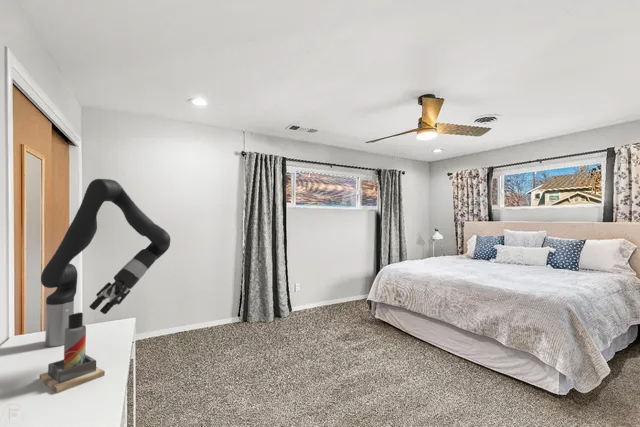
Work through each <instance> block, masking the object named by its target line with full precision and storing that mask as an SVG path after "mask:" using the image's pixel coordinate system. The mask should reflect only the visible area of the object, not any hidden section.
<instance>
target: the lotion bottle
mask: <svg viewBox="0 0 640 427" xmlns="http://www.w3.org/2000/svg"><path fill="white" fill-rule="evenodd" d="M83 316H84V314H83V312H76V313H75V312H74V314H72V315H69V316H68V328H66V329H65V335H64V345H63V346H64V348H63V360H64V370H65V369H68V368H72V367H75V366H78V365H81V364H84V363H85V355H86V347H87V346H86V342H87V339H86V338H87V326H86V325H83V324H84V322H83V321H84V319H83V318H84V317H83Z"/></svg>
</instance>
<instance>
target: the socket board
mask: <svg viewBox="0 0 640 427" xmlns="http://www.w3.org/2000/svg"><path fill="white" fill-rule="evenodd" d="M47 367H48V368H47V371H46V372H43V373H40V374H39V378H38V379H39V380H40V381H41V382H42V381H43V382H42V383H44V384H45V385H46V386H48V387H49V388H50V389H52V390H53V391H54V392H55V393H56V394H59V393H62V392H64V391H66V390H70V389H72V388H74V387H77V386H81V385H83V384H85V383H89V382H91V381H94V380H96V379H100V378H102V377H104V376H105V370H103V369H102V368H100V367H98V366H97V359H94V358H93V357H90V356H89V355H88V354H85V363H84V364H81V365H78V366H75V367H72V368H68V369H65V370H64V359H61V360H57V361H55V362H51V363H49V364H48V365H47Z"/></svg>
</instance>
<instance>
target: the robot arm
mask: <svg viewBox="0 0 640 427" xmlns="http://www.w3.org/2000/svg"><path fill="white" fill-rule="evenodd" d="M105 202H111V203H113V204H114V205H115V206H117V207H118V208H119V209H120V210H121V212H122V213H123V215H124V218H125V221H126V222H127V224H128V225H129V226H130V227H131V228H132V229H134V231H135V232H137V233H138V234H139V235H140V236H142V237H145V238H147V239H148V240H149V241H150V244H148V246H146V248H143V249H141V250H139V252H137V253H136V255H134V256H133V258H131V259H130V260H129V261H128V262H127V263H126V264H125V265H124V266H123V267H122V268H121V269H120V270H119V271H117V273H116V274H115V275H114V277H113V280H114V282H112V283H111V282H110V281H109V282H107V283H106V284H105V285H104V286H103V287H102V288H101V289H100V290H99V291H98V292H97V293H96V294H95V295H96V299H95V300H94V301H93V302H92V303H91V304H90V305H89V309H91V310H94V311H95V310H96V309H97V308H99V306H100V305H101V304H102V303H103V302H104V301H105V300H107V299H109V300H108V301H107V302H105V305H103V307H101V309H100V311H99V312H100V313H102V315H103V314H104V315H106V314H107V313H108V312H109V311H110V310H111V309H112V308H113V307H114V306H116V305H118V306H119V305H120V304H121V303H122V302H123V300H125V298H127V296H128V295H129V294H130V293H131V289H133V287H135V285H136V284H137V283H138V282H139V281H140V280H141V278H143V276H144V275H145V274H146V272H148V270H149V269H150V268H151V266H153V264H154V263H155V262H156V261H158V259H159V258H161V257H162V256H163V255H164V254H165V253H166V252H167V251H168V250H169V248H170V247H171V235H170V234H169V233H168V232H167V231H166V230H165V229H164V228H162V227H161V226H160V225H158V224H156V223H155V222H154V221H153V220H152V219H151V218H149V216H148V215H146V214H145V213H144V212H143V211H142V210H141V209H140V208H139V206H138V205H137V204H135V202H134V201H133V199H131V197H130V195H128V193H127V192H126V191H125V189H124V188H123V187H122V185H121V184H120V183H119V182H118V181H116V180H115V179H114V180H113V179H110V178H109V179H107V178H97V179H93V180H92V181H91V182H90V183H89V185H88V187H86V190H85V193H84V196H83V198H82V201H81V203H80V206H79V208H78V210H77V211H76V214H75V215H74V218H73V220H72V221H71V223H70V224H69V226H68V229H67V231H66V232H65V235H64V236H63V239H62V240H61V242H60V244H59V246H58V248H57V249H56V251H55V253H54V254H53V255H52V257H51V258H50V260H49V261H48V263H47V264H46V265H45V267H44V269H43V270H42V272H41V276H40V282H41V284H42V286H43V287H45V288H46V289H47V288H48V289H54V288H56V289H55V290H54V291H53V292H52V293H50V294H48V296H47V297H46V299H45V337H44V338H45V340H44V341H45V342H44V346H46V347H60V346H64V335H65V329H66V328H68V316H69V315H72V314H75V306H74V305H75V296H76V295H77V290H78V289H77V287H78V270H77V268H76V266H75V265H74V264H72V263H71V261H72V260H73V259H75V258H76V257H77V256H79V254H81V252H83V251H84V250H85V249H86V248H88V246H89V245H90V244H91V242H92V240H93V239H94V236H95V235H96V233H97V231H98V222H97V216H98V213H99V211H100V209H101V207H102V205H103V204H104V203H105Z"/></svg>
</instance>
